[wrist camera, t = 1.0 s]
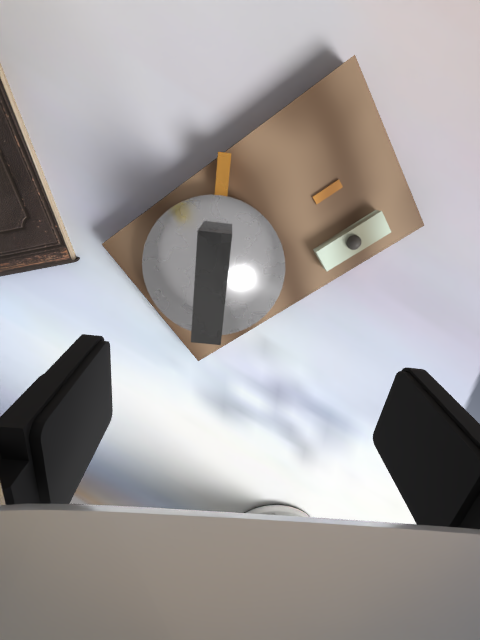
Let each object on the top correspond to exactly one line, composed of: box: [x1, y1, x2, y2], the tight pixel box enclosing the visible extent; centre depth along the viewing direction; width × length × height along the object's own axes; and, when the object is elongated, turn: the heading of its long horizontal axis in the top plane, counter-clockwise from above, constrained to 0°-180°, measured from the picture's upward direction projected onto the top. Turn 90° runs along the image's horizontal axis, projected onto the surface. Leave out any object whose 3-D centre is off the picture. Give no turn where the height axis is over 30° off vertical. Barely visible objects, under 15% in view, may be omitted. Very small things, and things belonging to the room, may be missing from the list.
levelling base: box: [102, 55, 424, 361], centre depth 27 cm, size 24×14×4 cm, turn 123°
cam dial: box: [142, 152, 285, 345], centre depth 24 cm, size 15×12×7 cm
